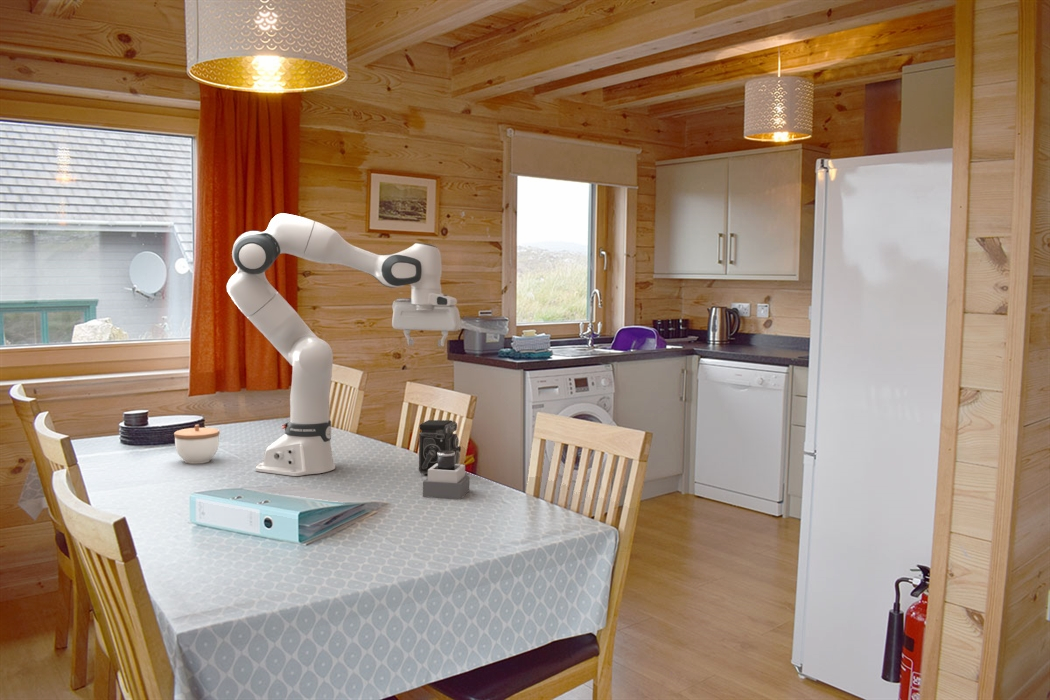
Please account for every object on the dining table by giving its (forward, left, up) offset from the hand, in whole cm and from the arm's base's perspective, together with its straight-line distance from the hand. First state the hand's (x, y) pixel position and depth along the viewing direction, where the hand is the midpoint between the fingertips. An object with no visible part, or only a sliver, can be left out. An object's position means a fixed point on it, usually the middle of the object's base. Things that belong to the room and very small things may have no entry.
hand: (425, 345), depth 237 cm
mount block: (+15, -28, -36) cm, 48 cm away
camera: (+7, -7, -37) cm, 38 cm away
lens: (+15, -28, -32) cm, 45 cm away
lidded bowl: (-68, -11, -37) cm, 78 cm away
